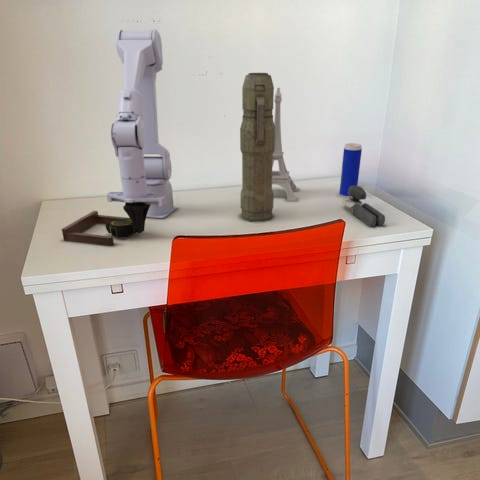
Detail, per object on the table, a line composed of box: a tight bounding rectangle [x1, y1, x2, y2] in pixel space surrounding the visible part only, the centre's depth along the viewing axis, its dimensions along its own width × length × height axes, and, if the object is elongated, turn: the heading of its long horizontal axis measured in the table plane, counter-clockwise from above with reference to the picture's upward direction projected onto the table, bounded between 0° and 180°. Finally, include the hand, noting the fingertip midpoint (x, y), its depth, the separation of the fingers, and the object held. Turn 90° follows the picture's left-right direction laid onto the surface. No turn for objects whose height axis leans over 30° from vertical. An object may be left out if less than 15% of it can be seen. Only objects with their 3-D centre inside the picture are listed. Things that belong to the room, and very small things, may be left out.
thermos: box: [239, 72, 275, 223], centre depth 120 cm, size 9×12×35 cm
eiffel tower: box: [272, 87, 298, 202], centre depth 140 cm, size 13×13×30 cm
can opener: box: [340, 185, 386, 228], centre depth 128 cm, size 19×5×6 cm, turn 13°
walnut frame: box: [61, 210, 130, 247], centre depth 119 cm, size 14×13×3 cm
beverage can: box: [339, 142, 363, 198], centre depth 141 cm, size 5×5×15 cm
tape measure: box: [104, 217, 137, 239], centre depth 117 cm, size 7×7×4 cm
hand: (140, 231), depth 116 cm, fingers closed
